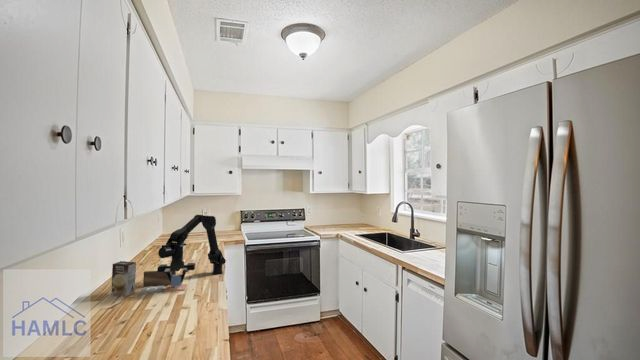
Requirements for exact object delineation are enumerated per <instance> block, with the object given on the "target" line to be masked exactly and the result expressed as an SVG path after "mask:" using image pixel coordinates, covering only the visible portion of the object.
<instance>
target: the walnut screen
mask: <svg viewBox="0 0 640 360" xmlns="http://www.w3.org/2000/svg"><path fill="white" fill-rule="evenodd" d="M176 272H177V271H173V272H172V275H176ZM142 283H143V285H142V286H143V287H142V288H144V286H146V287H149V286H168V285H171V283H170V280H169V277H168V275H167V274H166V273H164V272H157V270H145V271H144V272H143V280H142Z"/></svg>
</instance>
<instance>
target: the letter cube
mask: <svg viewBox="0 0 640 360" xmlns="http://www.w3.org/2000/svg"><path fill="white" fill-rule="evenodd" d="M181 279H182V273H177V274H176V275H172V276H171V286H181V284H183V282H182V283H181Z"/></svg>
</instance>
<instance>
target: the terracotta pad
mask: <svg viewBox="0 0 640 360" xmlns="http://www.w3.org/2000/svg"><path fill="white" fill-rule="evenodd" d="M166 286H167V287H166V288H165V289H164V292H165V293H169V292H181V291H182V292H183V291H184V292H185V290H186V289H187V286H188V284H187V283H184V284H183V283H182V284H181V286H171V285H166Z"/></svg>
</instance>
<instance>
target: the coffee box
mask: <svg viewBox="0 0 640 360" xmlns="http://www.w3.org/2000/svg"><path fill="white" fill-rule="evenodd" d="M136 267H137V262H136V261H123V260H120V261H117V262H115V263H112V270H111V271H112V272H111V290H110V295H111V296H122V297H128V296H129V295H132V294H133V293H135V291H136V289H135V288H136V276H137V275H136V271H137V268H136Z"/></svg>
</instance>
